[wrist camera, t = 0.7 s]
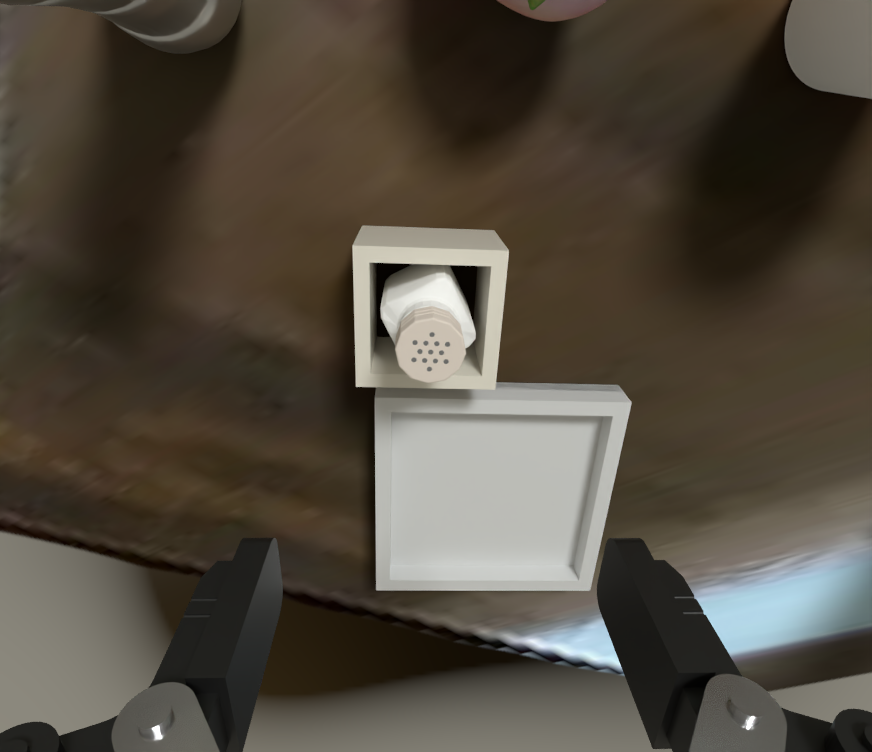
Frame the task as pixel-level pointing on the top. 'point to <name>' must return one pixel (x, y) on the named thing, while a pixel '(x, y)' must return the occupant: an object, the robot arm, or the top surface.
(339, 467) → the top surface
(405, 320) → the pepper shaker
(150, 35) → the plastic bottle
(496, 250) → the holder
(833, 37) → the cup
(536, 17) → the decorative fruit
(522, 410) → the tray
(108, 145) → the top surface
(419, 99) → the top surface
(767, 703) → the robot arm
